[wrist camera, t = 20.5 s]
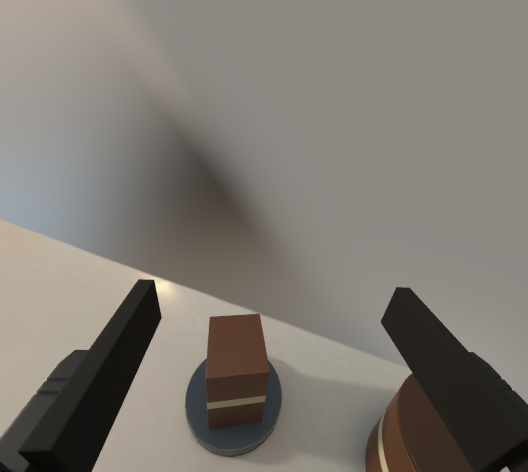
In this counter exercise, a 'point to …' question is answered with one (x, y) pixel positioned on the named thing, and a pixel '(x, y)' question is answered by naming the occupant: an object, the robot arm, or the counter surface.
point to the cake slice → (236, 370)
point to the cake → (413, 437)
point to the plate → (235, 436)
